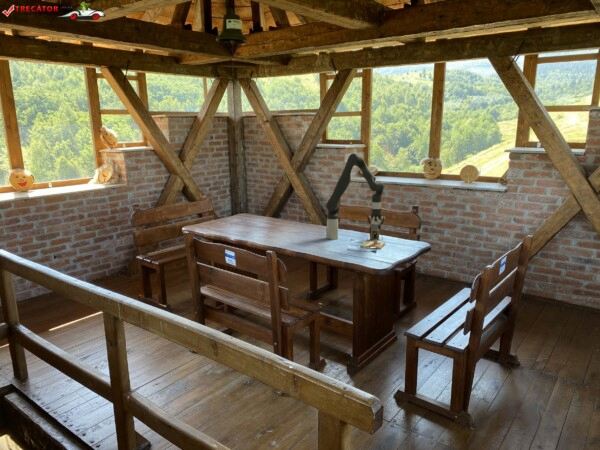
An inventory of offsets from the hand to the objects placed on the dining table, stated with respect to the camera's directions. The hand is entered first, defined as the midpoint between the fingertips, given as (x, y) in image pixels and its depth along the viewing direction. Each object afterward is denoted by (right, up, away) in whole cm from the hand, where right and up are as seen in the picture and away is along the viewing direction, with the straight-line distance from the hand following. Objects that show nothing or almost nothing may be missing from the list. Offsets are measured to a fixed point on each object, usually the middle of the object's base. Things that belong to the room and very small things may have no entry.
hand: (375, 229), depth 347 cm
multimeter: (+4, -10, +21) cm, 24 cm away
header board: (-2, -13, +3) cm, 14 cm away
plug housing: (0, -1, 0) cm, 1 cm away
